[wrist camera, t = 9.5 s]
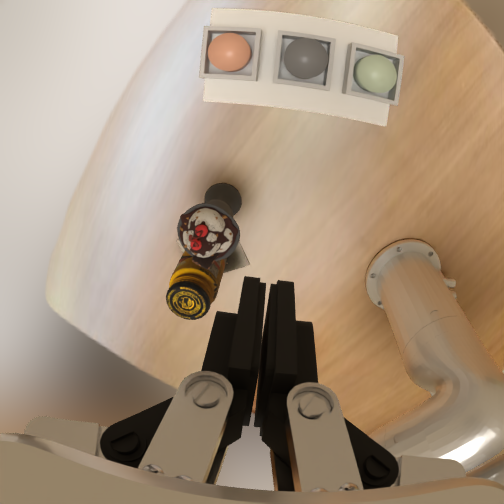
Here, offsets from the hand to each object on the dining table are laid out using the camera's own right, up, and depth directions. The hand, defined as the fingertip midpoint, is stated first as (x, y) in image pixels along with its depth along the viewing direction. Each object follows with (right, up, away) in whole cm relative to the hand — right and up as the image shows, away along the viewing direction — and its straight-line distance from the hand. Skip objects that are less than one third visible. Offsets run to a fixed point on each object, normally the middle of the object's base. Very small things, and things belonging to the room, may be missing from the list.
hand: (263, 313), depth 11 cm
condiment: (-6, +2, +35) cm, 36 cm away
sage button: (+13, +23, +20) cm, 33 cm away
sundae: (-4, +9, +31) cm, 33 cm away
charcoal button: (+5, +23, +19) cm, 30 cm away
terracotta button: (-3, +24, +20) cm, 32 cm away
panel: (+5, +24, +22) cm, 33 cm away
